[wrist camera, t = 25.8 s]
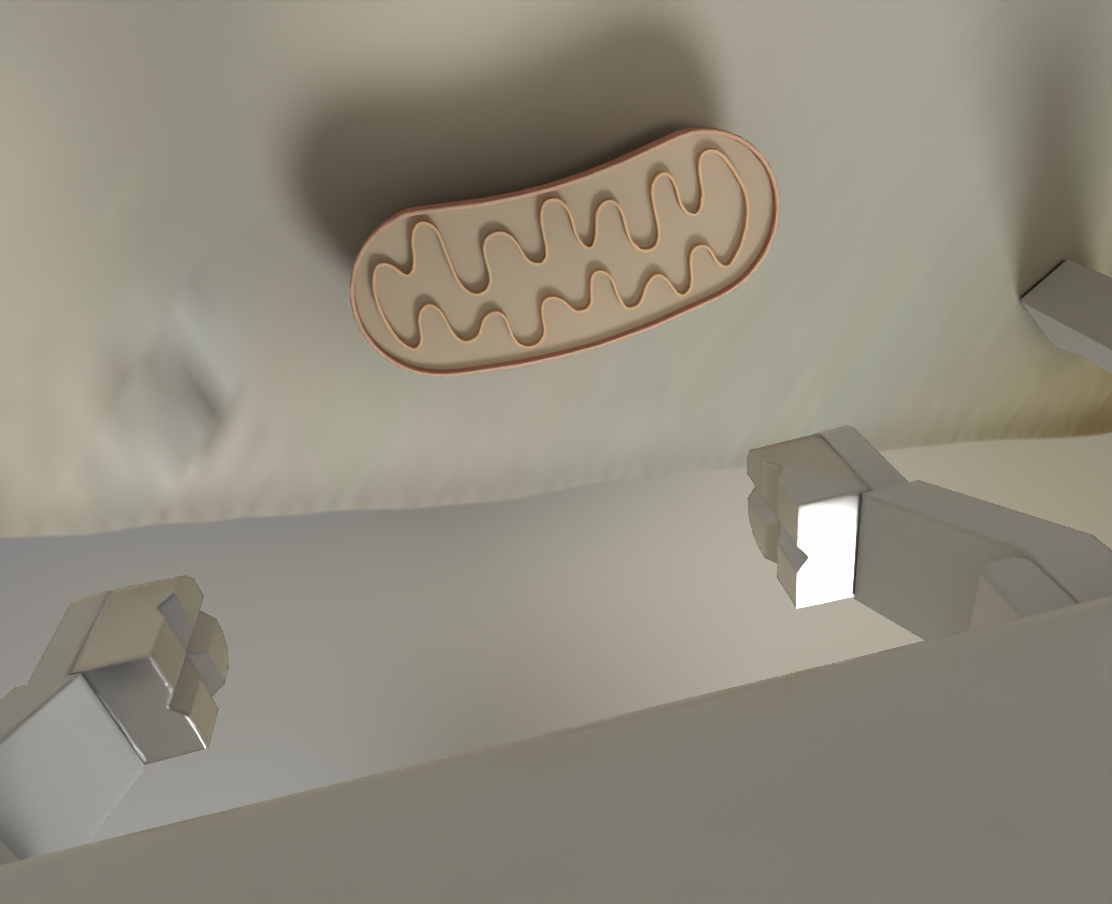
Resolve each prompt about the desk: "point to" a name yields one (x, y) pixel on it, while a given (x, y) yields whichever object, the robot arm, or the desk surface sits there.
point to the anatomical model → (566, 258)
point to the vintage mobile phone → (1075, 311)
